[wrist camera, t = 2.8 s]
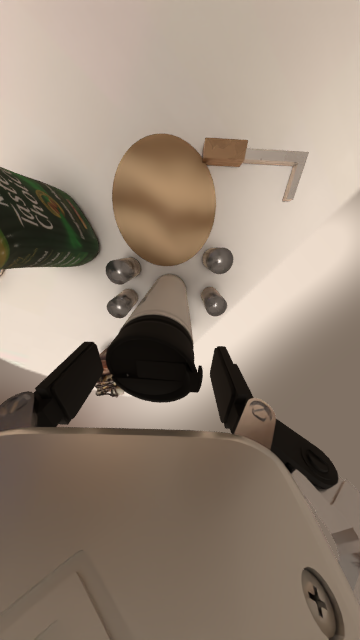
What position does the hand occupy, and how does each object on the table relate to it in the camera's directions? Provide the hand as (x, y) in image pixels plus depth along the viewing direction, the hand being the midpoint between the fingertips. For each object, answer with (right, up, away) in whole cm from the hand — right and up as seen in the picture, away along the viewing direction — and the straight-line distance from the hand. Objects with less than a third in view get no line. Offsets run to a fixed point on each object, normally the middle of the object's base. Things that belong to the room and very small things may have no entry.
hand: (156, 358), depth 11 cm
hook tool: (+11, +23, +8) cm, 26 cm away
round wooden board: (0, +19, +9) cm, 21 cm away
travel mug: (0, +9, +15) cm, 18 cm away
